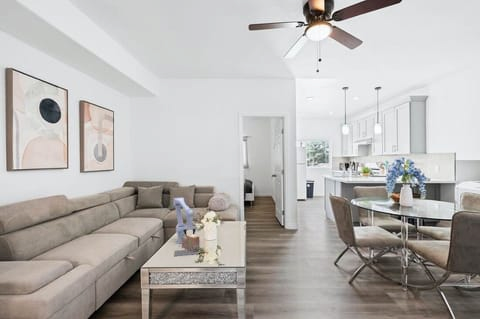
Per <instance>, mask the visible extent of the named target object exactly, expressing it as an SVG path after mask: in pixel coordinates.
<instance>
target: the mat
mask: <svg viewBox="0 0 480 319" xmlns="http://www.w3.org/2000/svg"><path fill="white" fill-rule="evenodd" d="M198 252H199V250H198V251H194V252H193V251H191V250H189V249H181V250H174V253H173V257H183V256H184V257H185V256H192V255H199V254H198Z"/></svg>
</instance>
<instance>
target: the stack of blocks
mask: <svg viewBox="0 0 480 319" xmlns="http://www.w3.org/2000/svg"><path fill="white" fill-rule="evenodd" d="M181 247H182V248H184V249H185V250H191V251H193V252H194V251H198V250H200V249H201V248H200V236H199V235H196V234H194V235H193V233H192V234H191V233H190V234H187V237H186V235H185V236H184V237H182V243H181Z"/></svg>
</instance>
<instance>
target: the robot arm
mask: <svg viewBox="0 0 480 319" xmlns="http://www.w3.org/2000/svg"><path fill="white" fill-rule="evenodd" d="M172 203H173V204H172V205H173V207H174V208H175V214H176V220H177V224H176V226H175V233H176V234H177V244H182V237H184V236H186V237H187V235H188V234H187V231H189V230H190V231H192V234H193V235H195V234H196V230H198V226H194V222H193V221H194V220H193V219H194V218H193V217H194V214H195V212H194V209H191V208H190V207H189V206H188V205H187V204H186V202H185V198H184V197H174V198H173V201H172ZM181 207H182V208H181ZM182 210H183V212H184V213H185V214H184V216H185V219H186V223H185V222H184V221H183V215H182Z"/></svg>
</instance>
